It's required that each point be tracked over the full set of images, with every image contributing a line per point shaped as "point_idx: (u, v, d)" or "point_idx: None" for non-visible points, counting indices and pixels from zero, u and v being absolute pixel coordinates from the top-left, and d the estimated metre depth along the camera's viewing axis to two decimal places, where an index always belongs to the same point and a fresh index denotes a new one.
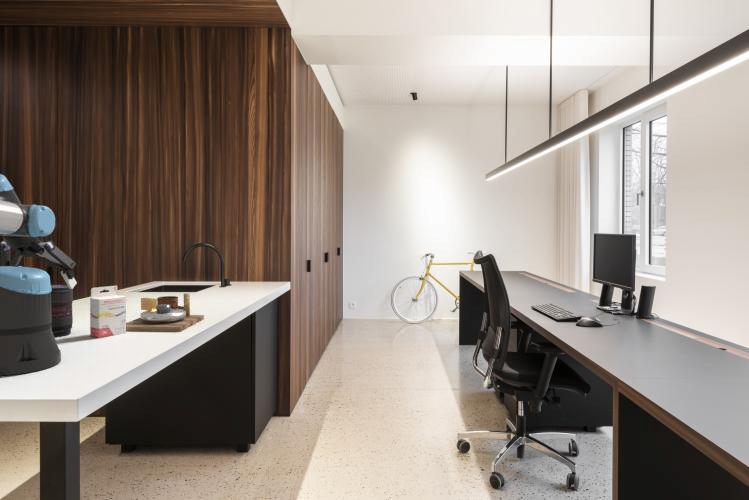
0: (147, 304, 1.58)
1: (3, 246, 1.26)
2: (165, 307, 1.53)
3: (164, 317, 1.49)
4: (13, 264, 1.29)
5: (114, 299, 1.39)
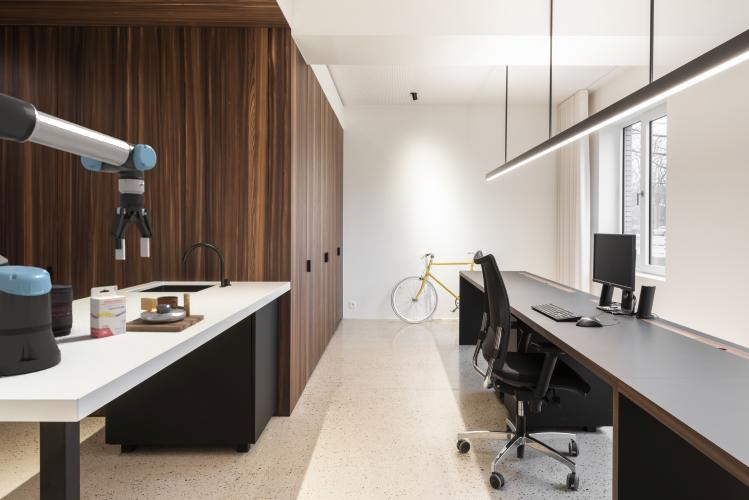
0: (147, 304, 1.58)
1: None
2: (165, 307, 1.53)
3: (164, 317, 1.49)
4: None
5: (114, 299, 1.39)
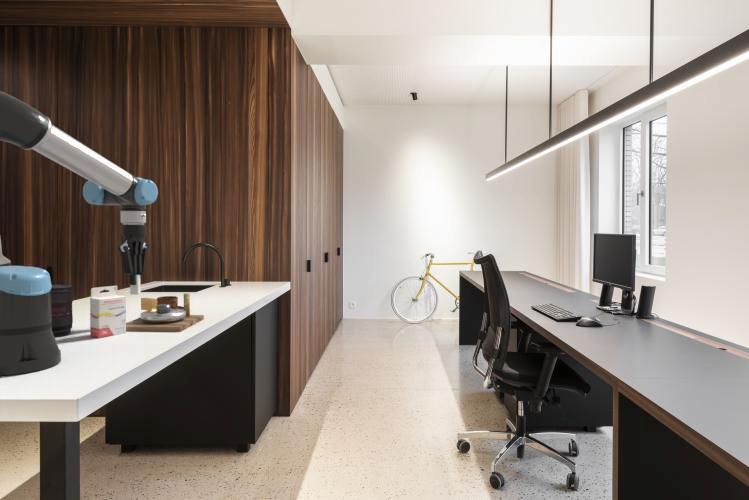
0: (147, 304, 1.58)
1: None
2: (165, 307, 1.53)
3: (164, 317, 1.49)
4: None
5: (114, 299, 1.39)
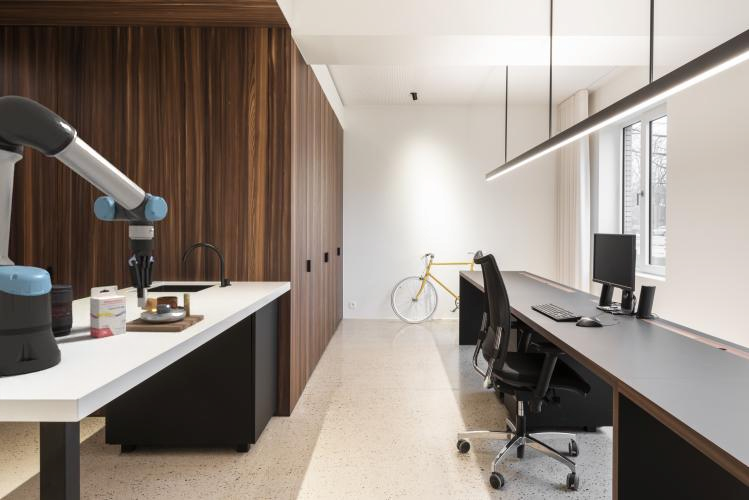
0: (147, 304, 1.58)
1: None
2: (165, 307, 1.53)
3: (164, 317, 1.49)
4: None
5: (114, 299, 1.39)
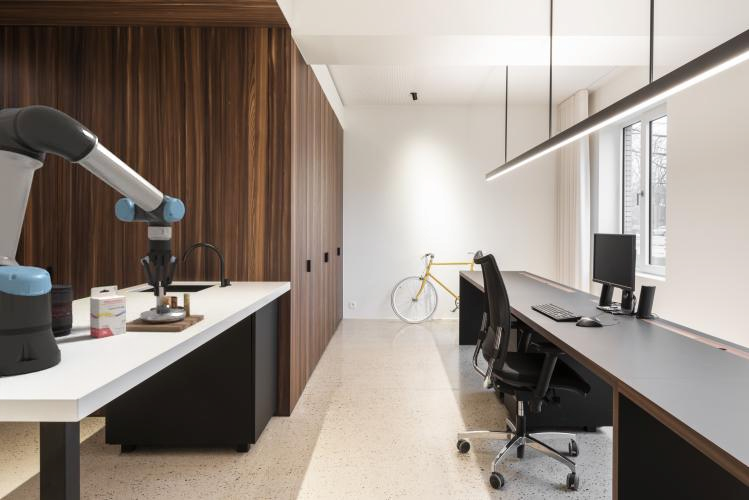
0: None
1: None
2: (160, 307, 1.53)
3: (148, 317, 1.48)
4: None
5: (114, 299, 1.39)
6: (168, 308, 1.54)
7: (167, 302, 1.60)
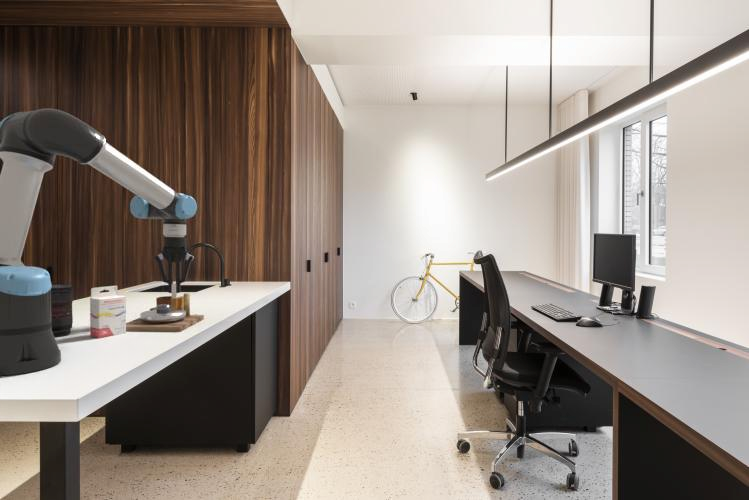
0: None
1: None
2: (157, 307, 1.53)
3: (141, 316, 1.50)
4: None
5: (114, 299, 1.39)
6: (165, 308, 1.53)
7: (175, 302, 1.60)
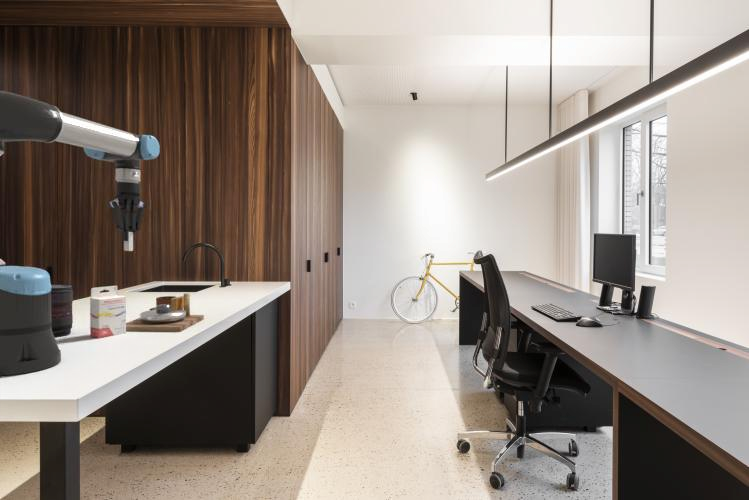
0: None
1: None
2: (157, 307, 1.53)
3: (141, 316, 1.50)
4: None
5: (114, 299, 1.39)
6: (165, 308, 1.53)
7: (175, 302, 1.60)
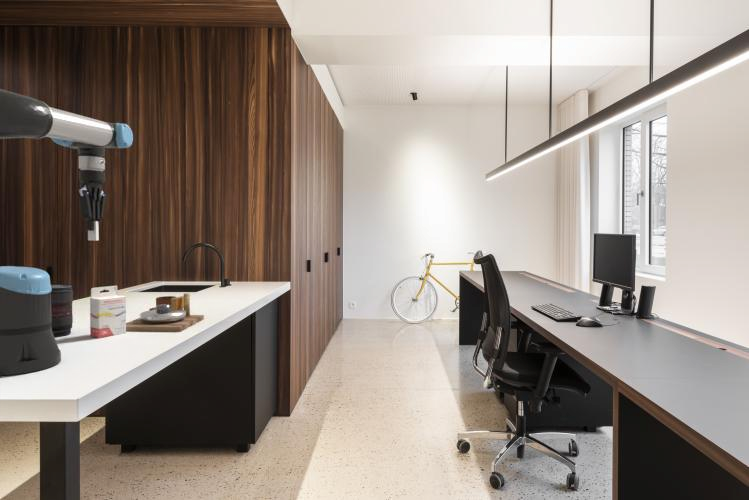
0: None
1: None
2: (157, 307, 1.53)
3: (141, 316, 1.50)
4: None
5: (114, 299, 1.39)
6: (165, 308, 1.53)
7: (175, 302, 1.60)
